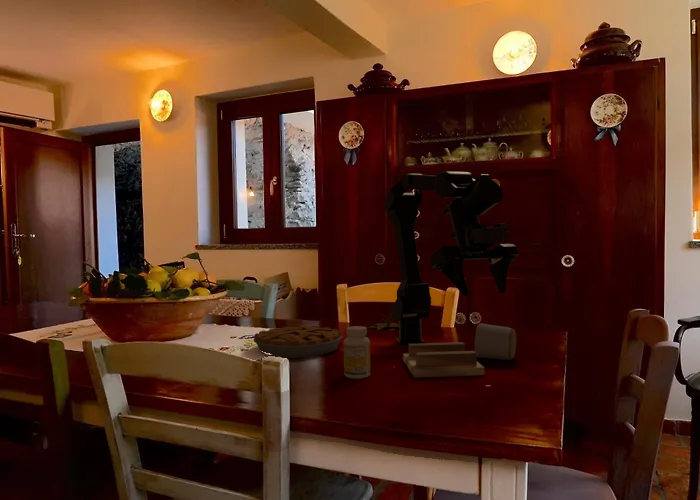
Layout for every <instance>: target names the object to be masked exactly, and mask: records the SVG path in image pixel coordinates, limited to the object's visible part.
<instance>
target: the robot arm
mask: <svg viewBox="0 0 700 500" xmlns="http://www.w3.org/2000/svg"><path fill="white" fill-rule="evenodd" d="M408 190H415V192H408ZM423 191H429V192H434V194H435V195H437V196H439V197H441V198H444V199H450V198H451V199H454V200H452V201H450V202H449V201H447V203H446V206H445V208H444V209H443V214H444V215H449V218H450V221H451V224H452V229H453V231H454V232H453V233H451V235H450V236H451V239H452V240H455V241H456V244H457V245H443V246H441V247H439V248H438V249H437V250H434V252H432V253H431V255H430V258H429V261H430V265H431V268H432V269H434V268H436V269H437V271H438V272H442V274H443V275H444V276H446V278H447V279H448V280H449V281H450V282H451V283H452V284H453V286H455V288H456V289H457V290H458V291H459V293H460V294H461V295H462V296H463V297H464V298H465V297H468V296H469V292H468V291H469V290H468V285H467V281H466V278H465V273H464V269H463V268H464V265H463V264H464V261H475V260H476V261H477V260H478V261H479V260H487V263H489V264H490V265H488V269H489V271H490V274H491V276H492V278H493V281H494V283H495V285H496V287H497V290H498V292H499V293H500V294H501V295H503V294H505V293H506V289H507V278H508V270H509V269H508V268H509V266H510V264H511V262H514V261H515V259H516V258H517V257H518V256H520V253H519V250H518V247H517V245H515V244H513V243H504V240H506V239H509V238H510V235H511V234H510V229H509V225H508V224H507V223H506V222H504V223H503V222H502V223H501V222H500V223H495V224H494V227H487V225H486V224H485V223H481V221H480V218H479V216H482V215H484V214H486V213H487V212H488V211H489V210H491V209H492V208H494V206H496V205H497V204H499V203H500V202H501V201H502V199H503V197H504V194H503V190H502V188H501V187H500V185H499V184H498V183H497V182H496V181H495V180H493V179H491V177H490V174H488V173H487V174H484V173H483V174H482V173H481V174H479V175H478V176H477V177H476V178H475V179H474V178H473V176H472V173H471V172H468V171H448V170H447V171H442V172H438V173H436V174H435V175H432V174H431V175H429V174H427V175H426V174H422V173H411V172H409V173H406V174H404V175H403V176H402V177H401V180H400V181H398V183H396V184H395V185H394V186H392V187H391V188H390V189H389V192H388V193H387V195H386V197H385V199H384V207H385V210H386V215H387V219H388V220H389V221H390V222H391V223H392V225H393V226H394V229H395V237H396V245H397V256H398V262H399V271H400V284H399V286H398V287H397V290H396V299H395V302H394V303H393V305H392V308H390V314H391V315H392V316H391V315H390V316H391V317H392V318H391V319H392V320H393V319H394V320H397V321H398V325H399V328H398V329H399V331H398V332H399V336H398V337H396V341H397V342H398V343H399V344H400V345H409V344H420V343H426V341H425V340H424V339H423V337H422V319H429V317H430V311H431V308H432V307H431V306H432V297H431V293H430V291H431V289H430V285H429V283H425V282H424V281H423V280H422V278H421V273H420V266H419V257H418V249H417V240H416V233H415V232H416V231H415V226H414V225H415V224H414V223H415V221H416V219H417V217H418V215H419V206H420V205H421V204H422V202H423V200H424V196H423ZM495 243H497V244H498V243H499V244H498V245H497V246H494V244H495ZM493 246H494V247H493ZM492 247H493V248H492ZM489 248H492V249H489Z"/></svg>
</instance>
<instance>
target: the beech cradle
mask: <svg viewBox="0 0 700 500" xmlns="http://www.w3.org/2000/svg"><path fill="white" fill-rule="evenodd" d="M465 344H466V343H464V342H463V341H462V342H461V341H458V342H456V341H455V342H454V341H453V342H429V343H428V342H425V343H418V344H408V352H407V353H402V360H403V363H404V364H405V366H406V367H407V369H408V371H410V373H411V374H412V376H413V377H414V378H434V377H435V378H438V377H439V378H440V377H461V376H462V377H465V376H468V377H470V376H485V375H486V374H485V366H483V365H482V364H481V363H480V362H478V361H477V360H478V359H477V358H478V357H477V353H476V352H475V350H465V349H466V345H465Z"/></svg>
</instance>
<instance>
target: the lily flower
mask: <svg viewBox="0 0 700 500" xmlns="http://www.w3.org/2000/svg"><path fill="white" fill-rule="evenodd" d="M381 316H383V317H382V319H381V320H382V321H384V322H383V323H382V322H379V323H378V322H377V323H376V324H375V323H374V324H373V325H372V326H369V327H367V329H368V328H370V329H371V328H372V329H374V328H375V329H376V331H379V330H381V329H385V330H386V329H387V330H389V331H394V330H397V328H398V329H399V323H395V322H393V321H394V320H395V319H393V318H392V315H391V313H390V314H389V315H388V316H387V317H386V315H384V314H383V313H381Z"/></svg>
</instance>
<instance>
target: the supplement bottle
mask: <svg viewBox="0 0 700 500" xmlns="http://www.w3.org/2000/svg"><path fill="white" fill-rule="evenodd" d="M367 329H368V327H366V326H362V325H361V326H360V325H354V326H348V327H347V328H346V335H347V337H345V339H344V340H343V373H344V374H343V375H344V376H345V377H346V378H350V379H355V380H357V379H365V378H368V377H370V375H371V340H370V338H368V337H366V336H367V333H368V330H367Z"/></svg>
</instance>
